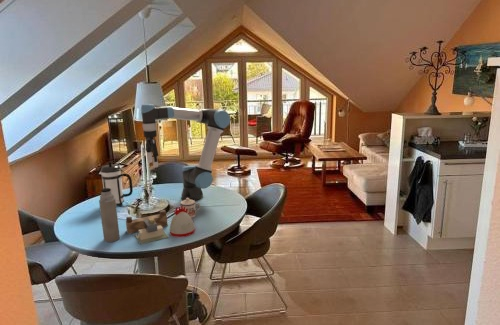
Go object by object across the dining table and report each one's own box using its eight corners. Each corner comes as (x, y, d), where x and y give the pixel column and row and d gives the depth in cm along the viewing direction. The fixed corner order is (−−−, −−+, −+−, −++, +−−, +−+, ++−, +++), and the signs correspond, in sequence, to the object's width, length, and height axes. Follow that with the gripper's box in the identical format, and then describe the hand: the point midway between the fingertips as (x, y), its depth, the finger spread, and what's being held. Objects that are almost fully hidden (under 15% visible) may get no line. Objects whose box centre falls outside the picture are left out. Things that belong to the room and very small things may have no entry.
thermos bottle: (107, 235, 204) (101, 186, 197) (122, 235, 203) (116, 186, 197) (101, 242, 196) (94, 191, 189) (116, 242, 196) (110, 191, 189)
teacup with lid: (184, 220, 223) (183, 201, 220) (179, 215, 230) (177, 197, 228) (202, 215, 228) (201, 197, 226) (197, 211, 236) (196, 194, 233)
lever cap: (153, 225, 204) (152, 215, 203) (157, 230, 197) (156, 220, 196) (144, 227, 202) (143, 217, 201) (148, 232, 195) (147, 222, 193)
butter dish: (162, 229, 209) (161, 222, 208) (168, 237, 199) (167, 229, 198) (135, 235, 202) (134, 228, 201) (139, 244, 192) (139, 236, 191)
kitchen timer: (165, 231, 208) (163, 205, 204) (187, 224, 216) (185, 200, 212) (176, 239, 197) (174, 212, 193) (199, 232, 205) (197, 206, 202)
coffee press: (112, 210, 242) (107, 165, 235) (98, 205, 252) (93, 162, 245) (134, 202, 256) (130, 160, 249) (121, 198, 265) (116, 157, 258)
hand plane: (165, 222, 219) (164, 209, 217) (167, 225, 215) (166, 211, 213) (126, 230, 209) (125, 216, 207) (128, 234, 205) (127, 219, 203)
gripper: (138, 128, 231) (142, 161, 236) (148, 133, 210) (152, 169, 215) (150, 127, 234) (153, 160, 239) (161, 132, 213) (164, 168, 218)
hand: (152, 164), depth 227 cm, fingers open, 13 cm apart
